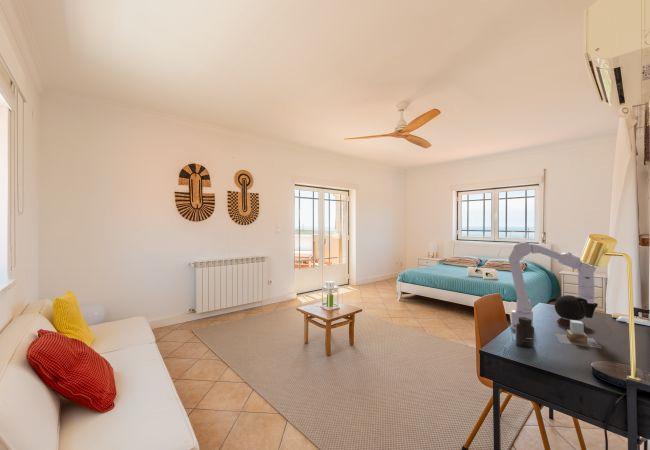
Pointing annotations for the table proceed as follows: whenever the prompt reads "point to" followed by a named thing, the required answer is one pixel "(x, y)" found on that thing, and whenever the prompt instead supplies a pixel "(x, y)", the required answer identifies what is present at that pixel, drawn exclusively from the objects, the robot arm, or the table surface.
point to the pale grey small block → (576, 327)
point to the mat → (590, 343)
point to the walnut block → (577, 337)
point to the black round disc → (568, 310)
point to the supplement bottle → (525, 333)
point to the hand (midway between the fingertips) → (586, 315)
